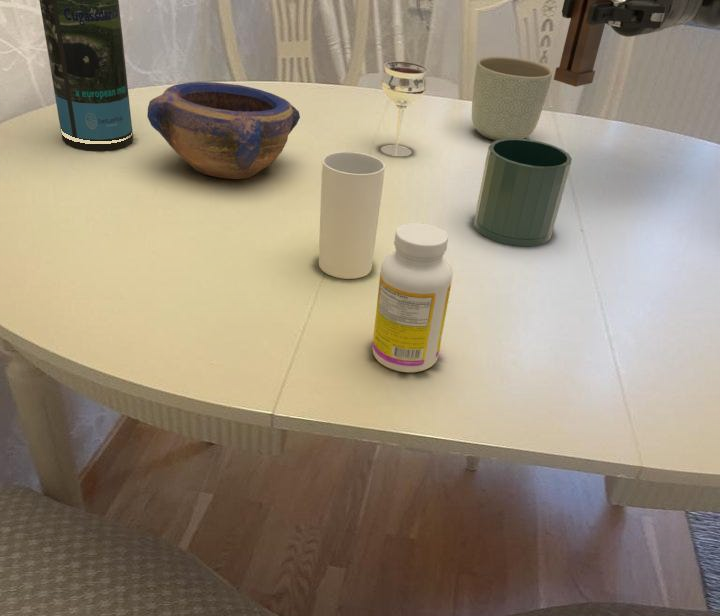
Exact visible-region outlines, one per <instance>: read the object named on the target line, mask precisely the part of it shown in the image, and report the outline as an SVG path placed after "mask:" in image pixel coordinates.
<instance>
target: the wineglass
mask: <svg viewBox="0 0 720 616" xmlns="http://www.w3.org/2000/svg"><path fill="white" fill-rule="evenodd" d="M383 68H384V71H385V72H384V73H383V75H382V79H381V86H382V91H383V93H384V94H385V96H386V98H387V99H388V100H389V101H390V102H392V103H393V104H395V106H396V109H398V111H397V122H396V123H397V124H396V136H395V144H389V145H384V146H382V147H380V151H381V152H382V153H383V154H384V155H388V156H393V157H408V156H411V155H412V154H413V151H412V150H411V149H409V148H408V147H405V146H403V145H399V141H400V135H401V129H402V122H403V116H404V110H406V109H407V107H408V106H411V105H413V104H416V103H417V101H419V100H420V99H421V98H422V97H423V96H424V94H425V92H426V91H427V78H426V75H427V74H428V72H429V69H428V67H426V66H425V65H422V64H419V63H416V62H415V63H414V62H410V61H398V60H397V61H395V60H394V61H389V62H385V63H383Z"/></svg>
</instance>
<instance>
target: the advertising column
mask: <svg viewBox="0 0 720 616" xmlns="http://www.w3.org/2000/svg"><path fill="white" fill-rule="evenodd" d="M38 1H39V7H40V13H41V20H42V25H43V26H42V27H43V31H44V37H45V43H46V50H47V55H48V61H49V67H50V72H51V79H52V85H53V92H54V99H55V103H56V109H57V115H58V121H59V128H60V130H61V129H62V131H63V132H64V133H66V134H68V135H70V136H72V137H75V138H79V139H83V140H90V141H112V140H119V139H123V138H126V137H127V136H129V135H131V133H132V136H131V137H130V138H128V139H126V140H124V141H121V142H117V143H111V144H85V143H80V142H74V141H72V140H69V139H67V138H65V137H64V136H63V135H62V133H61V132H60V134H61V139H62V140H61V141H62V142H63V143H64V144H65V145H66V146H68V147H69V148H73V149H76V150H81V151H85V152H102V153H103V152H111V151H118V150H121V149H124V148H127V147H129V146H130V145H132V144H133V142H134V133H133V125H132V124H133V123H132V116H131V115H132V114H131V106H130V105H131V104H130V95H129V85H128V77H127V76H128V75H127V67H126V58H125V48H124V39H123V29H122V19H121V10H120V9H121V8H120V1H119V0H38Z"/></svg>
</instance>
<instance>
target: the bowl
mask: <svg viewBox="0 0 720 616" xmlns="http://www.w3.org/2000/svg"><path fill="white" fill-rule="evenodd" d="M146 117H147V120H148V121H149V124H150V126H151V127H152V128H153V129H154V130H155V131H157V132H158V133H159V135H161V137H163V139H164V140H165V141H166V143H167V144H168V145H169V146H170V147H171V149H173V151H175V153H177V154H178V156H180V157H181V159H182V160H183V161H185V162H186V163H187V164H188V165H189V166H191V167H192V168H193V169H194V170H195V171H197V172H198V173H200V174H202V175H205V176H206V175H207V176H210V177H214V178H218V179H227V180H244V179H250V178H252V177H254V176H255V175H257V174H259V173H260V172H261V171H263V169H265V168H267V167H268V166H270V165H271V164H273V162H275V161H276V160H277V158H278V157H279V156H280V155H281V154H282V152H283V150H284V149H285V146H286V145H287V142H288V140H289V139H288V138H289V135H290V134H291V133H292V131H293V130H294V128H295V127H296V126H297V125H298V122H299V121H300V119H301V115H300V111H299V110H298V109H297V108H296V107H294V105H292V104H291V102H290V101H288V100H287V99H285V98H283V97H281V96H278V95H277V94H274V93H271V92H268V91H265V90H262V89H259V88H254V87H250V86H245V85H241V84H233V83H225V82H215V81H213V82H212V81H193V82H191V81H190V82H183V83H177V84H173V85H170V86H169V87H167V88H166V89H165V90H164V92H163V93H162V94H160V95H159V96H156V97H154V98H152V99H151V100H150V101H149V103H148V106H147V115H146Z"/></svg>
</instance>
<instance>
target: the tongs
mask: <svg viewBox="0 0 720 616" xmlns="http://www.w3.org/2000/svg"><path fill="white" fill-rule="evenodd" d="M598 2H611V0H575V4H574V8H573V12H572V16H571V18H570V21H569V25H568V29H567V33H566V37H565V42H564V45H563V50H562V53H561V58H560V61H559V66H558V67H555V71H554V75H553V80H554V81H557V82H559V83H562V84H566V85H570V86H572V87H575V88H576V87H580V86H585V85H590V84H593V82H594V78H595V75H596V70H594V67H595V63H596V60H597V56H598V53H599V49H600V44H601V42H602V37H603V34H604V30H605V26H606V23H602V24H595V25H590V24H587V23H586V20H587V16H588V12H589V8H590V6H591V4H592V3H598Z"/></svg>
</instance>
